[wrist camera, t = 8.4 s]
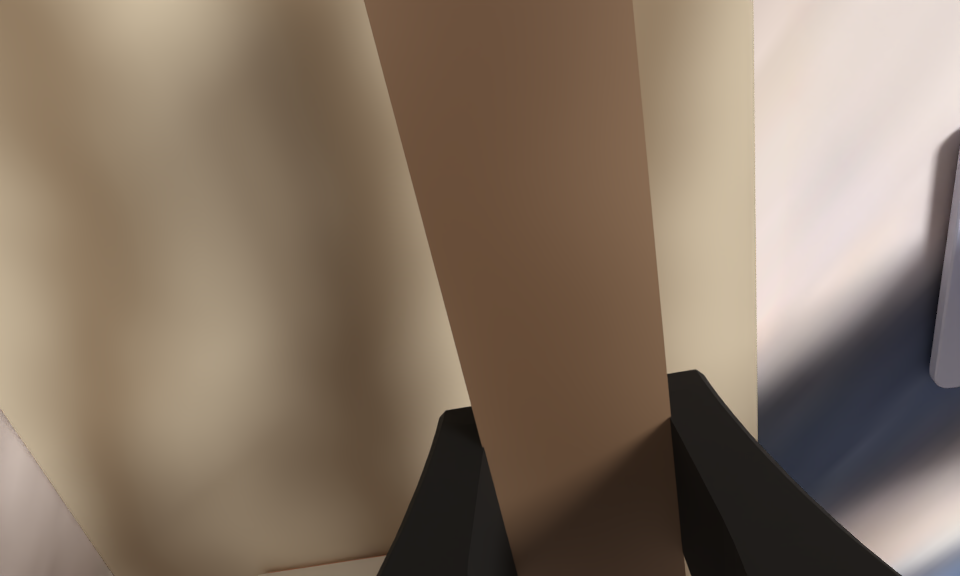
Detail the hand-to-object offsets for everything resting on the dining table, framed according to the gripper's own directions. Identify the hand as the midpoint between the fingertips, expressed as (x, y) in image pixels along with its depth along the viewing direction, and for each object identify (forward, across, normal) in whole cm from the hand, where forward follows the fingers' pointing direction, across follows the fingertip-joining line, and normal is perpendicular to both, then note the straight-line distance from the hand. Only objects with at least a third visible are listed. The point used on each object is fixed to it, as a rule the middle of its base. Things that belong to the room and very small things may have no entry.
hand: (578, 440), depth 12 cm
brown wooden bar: (+2, 0, 0) cm, 2 cm away
